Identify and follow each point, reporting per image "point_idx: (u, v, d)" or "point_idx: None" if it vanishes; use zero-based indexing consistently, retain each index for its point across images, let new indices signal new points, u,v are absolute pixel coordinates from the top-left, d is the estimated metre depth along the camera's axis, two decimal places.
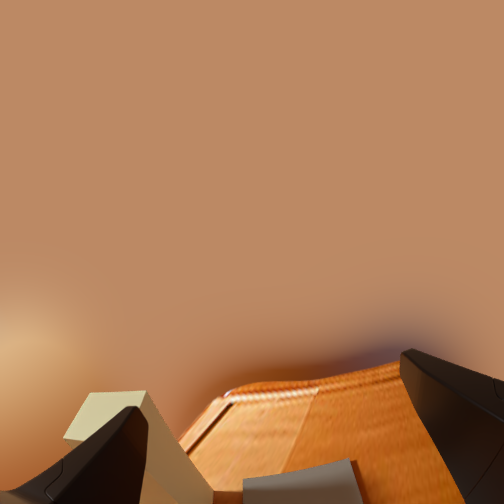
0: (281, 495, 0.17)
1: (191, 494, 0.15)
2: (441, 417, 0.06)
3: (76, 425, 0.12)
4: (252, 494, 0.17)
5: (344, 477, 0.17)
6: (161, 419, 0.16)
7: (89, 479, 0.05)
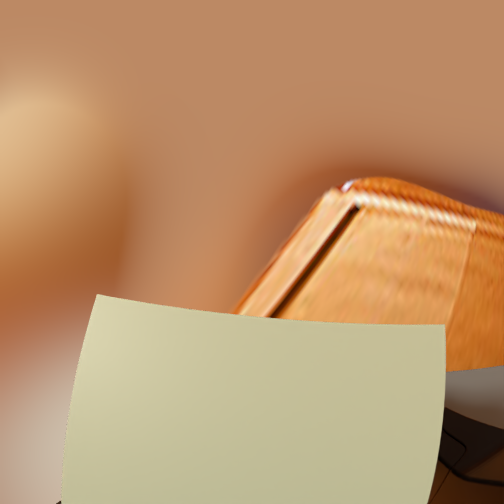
0: None
1: None
2: None
3: None
4: None
5: (499, 395, 0.11)
6: None
7: None
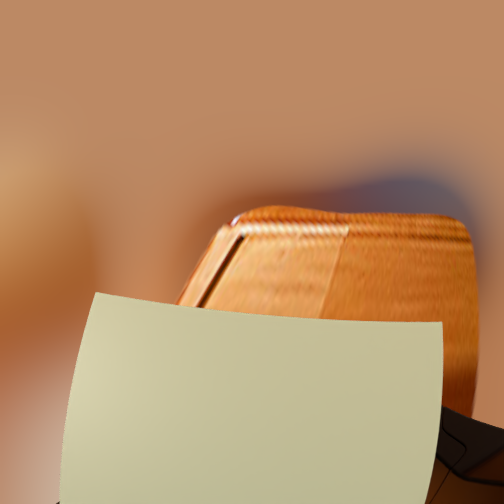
0: None
1: None
2: None
3: None
4: None
5: None
6: None
7: None
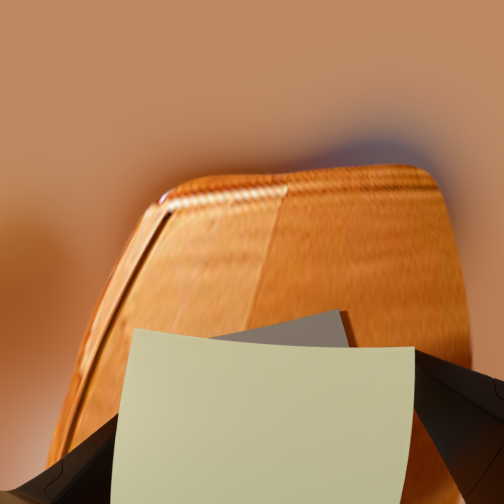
0: None
1: None
2: (441, 417, 0.06)
3: None
4: None
5: (333, 341, 0.16)
6: None
7: (89, 478, 0.05)
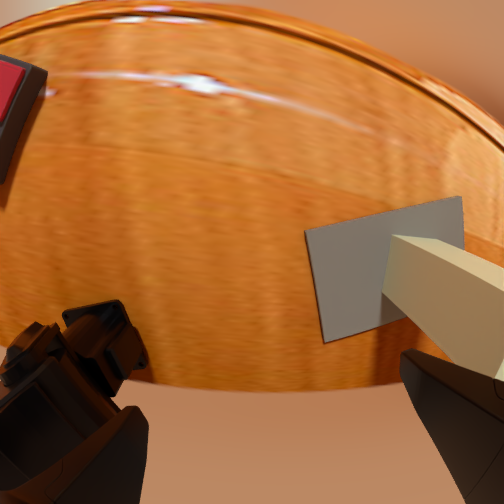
0: (445, 238, 0.20)
1: None
2: (441, 417, 0.06)
3: None
4: (447, 210, 0.19)
5: None
6: None
7: (89, 478, 0.05)
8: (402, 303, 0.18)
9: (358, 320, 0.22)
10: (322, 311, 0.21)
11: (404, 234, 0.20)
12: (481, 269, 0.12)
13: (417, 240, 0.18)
